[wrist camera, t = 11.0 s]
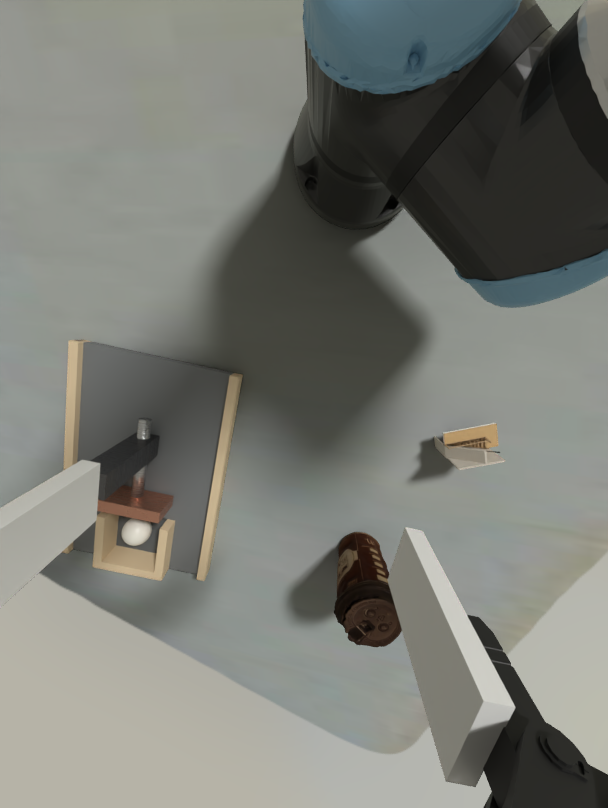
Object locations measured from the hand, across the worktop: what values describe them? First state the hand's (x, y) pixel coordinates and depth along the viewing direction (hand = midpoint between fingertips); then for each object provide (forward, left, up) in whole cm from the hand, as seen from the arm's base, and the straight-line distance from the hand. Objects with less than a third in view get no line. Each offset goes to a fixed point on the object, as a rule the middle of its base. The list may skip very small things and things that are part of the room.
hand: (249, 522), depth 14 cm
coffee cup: (+23, +15, -32) cm, 42 cm away
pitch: (+16, -18, -32) cm, 40 cm away
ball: (+26, -18, -29) cm, 43 cm away
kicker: (+15, -18, -30) cm, 38 cm away
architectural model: (+2, +24, -32) cm, 40 cm away
